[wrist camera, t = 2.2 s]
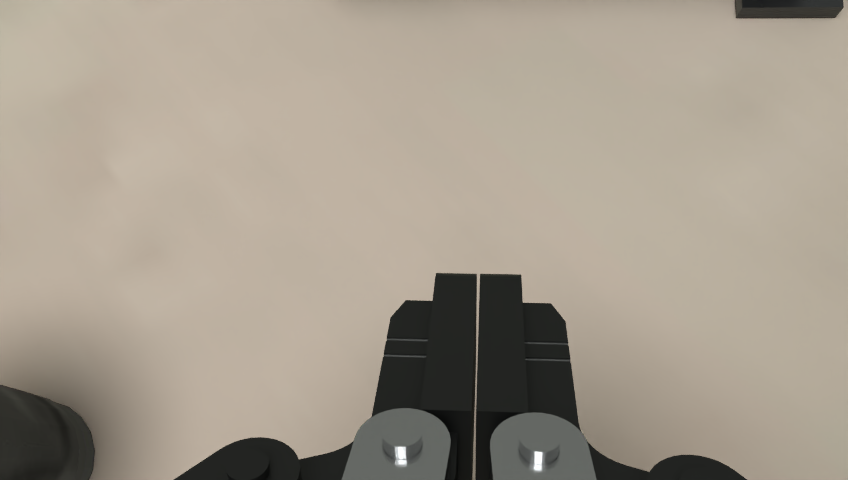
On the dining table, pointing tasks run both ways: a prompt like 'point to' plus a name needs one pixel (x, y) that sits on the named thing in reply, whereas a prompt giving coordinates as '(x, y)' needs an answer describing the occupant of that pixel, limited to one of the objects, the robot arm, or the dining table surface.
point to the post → (788, 8)
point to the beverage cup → (42, 439)
